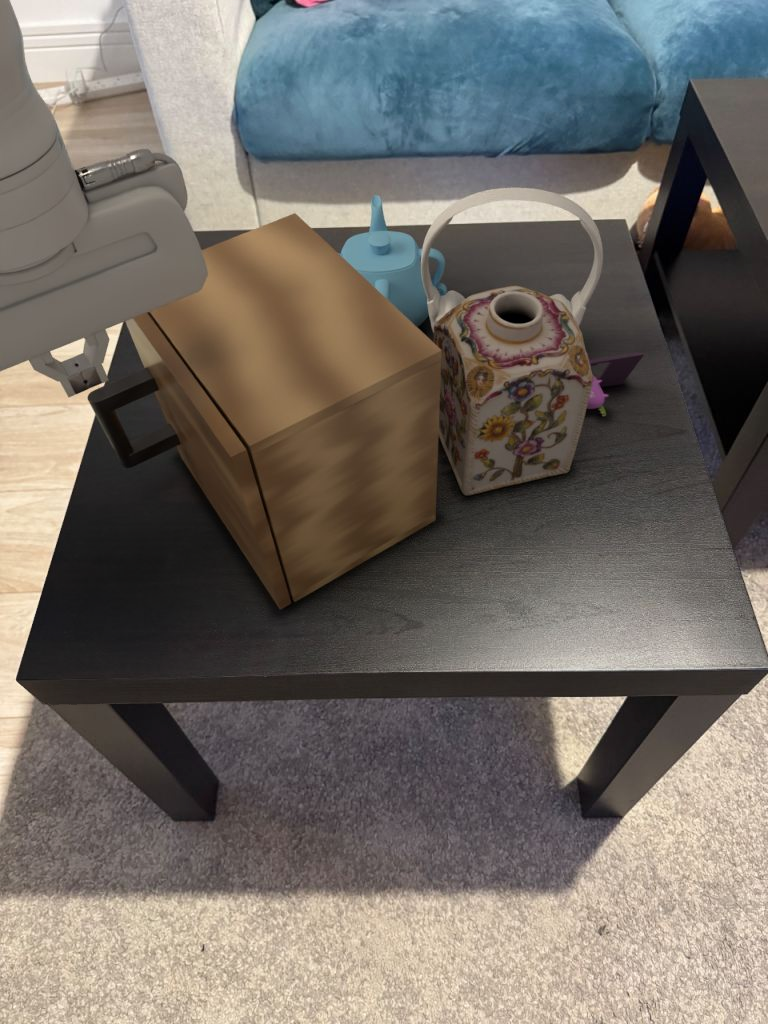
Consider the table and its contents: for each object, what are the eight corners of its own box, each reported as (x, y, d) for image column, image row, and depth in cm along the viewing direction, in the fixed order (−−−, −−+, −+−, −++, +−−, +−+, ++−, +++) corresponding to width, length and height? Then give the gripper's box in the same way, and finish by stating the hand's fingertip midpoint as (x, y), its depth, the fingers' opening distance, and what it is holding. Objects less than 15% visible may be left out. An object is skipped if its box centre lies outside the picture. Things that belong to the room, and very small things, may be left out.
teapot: (377, 370, 85) (377, 292, 76) (300, 308, 91) (291, 229, 81) (454, 320, 90) (462, 241, 80) (376, 265, 95) (376, 185, 86)
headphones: (422, 329, 88) (424, 170, 72) (577, 335, 86) (614, 173, 70) (418, 371, 84) (418, 212, 68) (581, 378, 82) (621, 217, 66)
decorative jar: (428, 417, 80) (431, 278, 65) (529, 395, 81) (554, 254, 66) (462, 501, 73) (474, 368, 58) (572, 476, 74) (610, 339, 60)
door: (222, 643, 65) (150, 496, 47) (129, 482, 76) (42, 315, 58) (291, 603, 67) (246, 449, 49) (191, 452, 78) (125, 282, 60)
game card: (641, 344, 75) (557, 358, 75) (655, 390, 74) (570, 404, 73) (619, 374, 82) (542, 387, 81) (632, 417, 80) (553, 430, 80)
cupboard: (294, 602, 67) (249, 445, 49) (193, 452, 78) (126, 280, 60) (435, 520, 72) (442, 350, 54) (321, 390, 83) (295, 212, 65)
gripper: (151, 117, 44) (202, 304, 55) (-217, 233, 38) (-75, 417, 49) (196, 162, 41) (240, 350, 52) (-198, 297, 35) (-51, 478, 46)
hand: (85, 384), depth 50 cm, fingers closed
